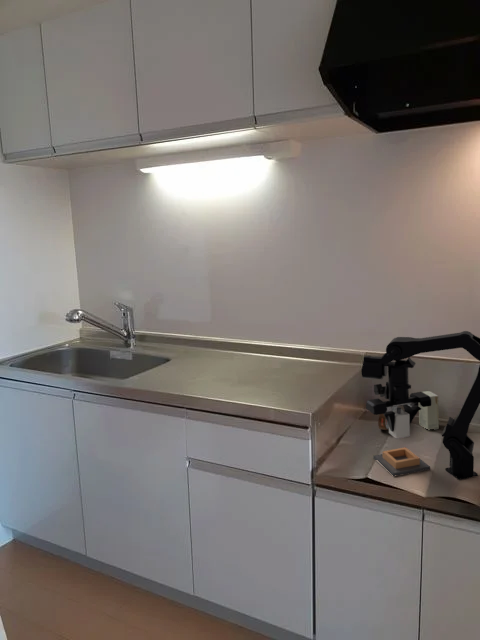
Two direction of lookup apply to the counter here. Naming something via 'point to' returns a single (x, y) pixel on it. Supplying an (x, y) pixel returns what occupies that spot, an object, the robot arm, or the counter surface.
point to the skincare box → (429, 413)
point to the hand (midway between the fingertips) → (399, 429)
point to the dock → (401, 461)
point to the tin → (384, 420)
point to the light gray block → (401, 424)
